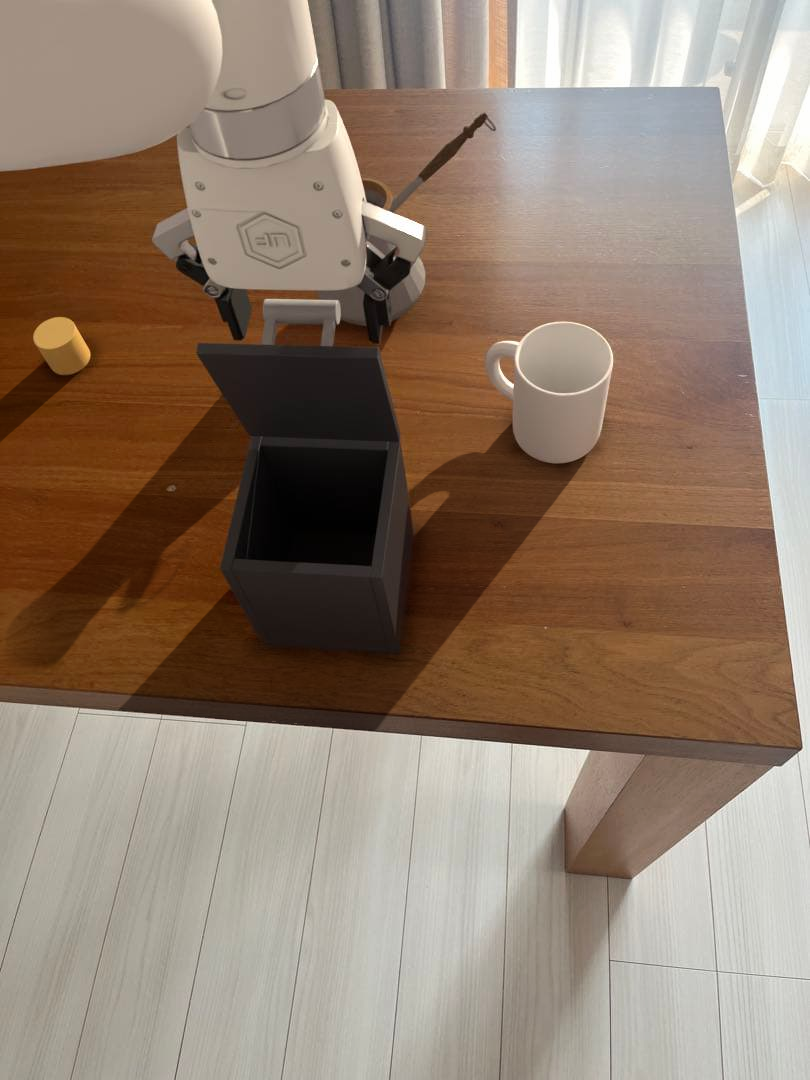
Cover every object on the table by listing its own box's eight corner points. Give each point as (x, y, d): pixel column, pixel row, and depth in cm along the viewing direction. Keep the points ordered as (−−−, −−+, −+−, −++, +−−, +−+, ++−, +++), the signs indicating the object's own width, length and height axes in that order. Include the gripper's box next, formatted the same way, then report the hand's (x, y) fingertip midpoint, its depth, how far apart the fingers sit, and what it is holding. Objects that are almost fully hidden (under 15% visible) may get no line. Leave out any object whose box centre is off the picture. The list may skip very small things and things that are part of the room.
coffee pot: (357, 357, 90) (335, 241, 77) (300, 293, 96) (271, 175, 83) (523, 263, 95) (528, 139, 82) (460, 207, 100) (456, 82, 87)
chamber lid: (377, 358, 55) (385, 283, 57) (195, 353, 57) (208, 280, 58) (399, 442, 67) (405, 378, 69) (248, 436, 68) (258, 374, 70)
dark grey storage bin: (399, 654, 74) (382, 578, 62) (262, 645, 75) (219, 568, 63) (414, 532, 80) (400, 441, 68) (286, 526, 81) (251, 435, 69)
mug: (462, 423, 85) (459, 350, 76) (511, 367, 88) (513, 291, 79) (570, 481, 81) (579, 411, 72) (617, 421, 84) (631, 346, 75)
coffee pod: (52, 380, 92) (35, 354, 89) (47, 350, 95) (30, 324, 91) (93, 367, 93) (78, 341, 89) (87, 338, 95) (72, 311, 92)
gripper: (79, 146, 46) (179, 365, 61) (407, 144, 44) (428, 372, 59) (117, 60, 50) (202, 286, 65) (421, 54, 48) (438, 290, 63)
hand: (310, 327), depth 62 cm, fingers open, 9 cm apart
